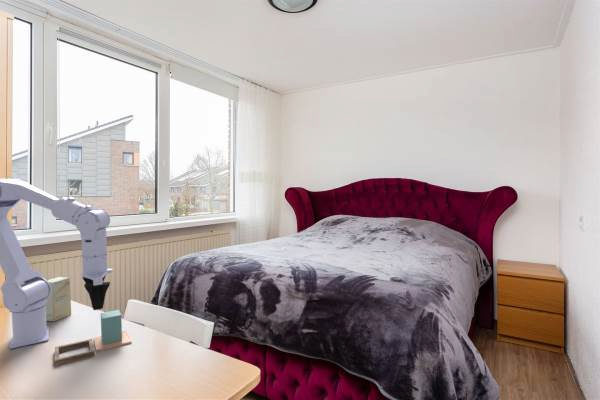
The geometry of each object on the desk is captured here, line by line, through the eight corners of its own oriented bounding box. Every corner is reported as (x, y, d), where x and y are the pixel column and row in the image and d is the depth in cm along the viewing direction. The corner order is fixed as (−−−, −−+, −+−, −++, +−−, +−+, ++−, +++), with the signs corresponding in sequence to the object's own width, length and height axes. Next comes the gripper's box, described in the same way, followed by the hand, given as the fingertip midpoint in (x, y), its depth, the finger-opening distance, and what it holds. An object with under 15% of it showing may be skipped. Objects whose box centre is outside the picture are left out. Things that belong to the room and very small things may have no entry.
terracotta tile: (93, 339, 93) (93, 337, 93) (126, 332, 97) (126, 330, 97) (96, 351, 86) (96, 349, 86) (131, 343, 91) (131, 341, 91)
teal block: (101, 338, 92) (100, 313, 92) (119, 334, 95) (119, 309, 94) (103, 345, 89) (102, 318, 88) (122, 340, 91) (121, 314, 91)
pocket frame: (55, 351, 86) (54, 347, 86) (92, 343, 91) (92, 338, 91) (54, 366, 80) (54, 361, 80) (94, 355, 84) (94, 351, 84)
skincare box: (54, 322, 104) (52, 282, 104) (42, 321, 105) (40, 281, 104) (72, 314, 111) (70, 276, 110) (60, 313, 111) (58, 276, 111)
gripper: (115, 258, 88) (117, 309, 89) (108, 248, 100) (110, 294, 101) (82, 261, 84) (85, 316, 85) (79, 251, 96) (81, 299, 97)
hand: (96, 304), depth 93 cm, fingers open, 7 cm apart
